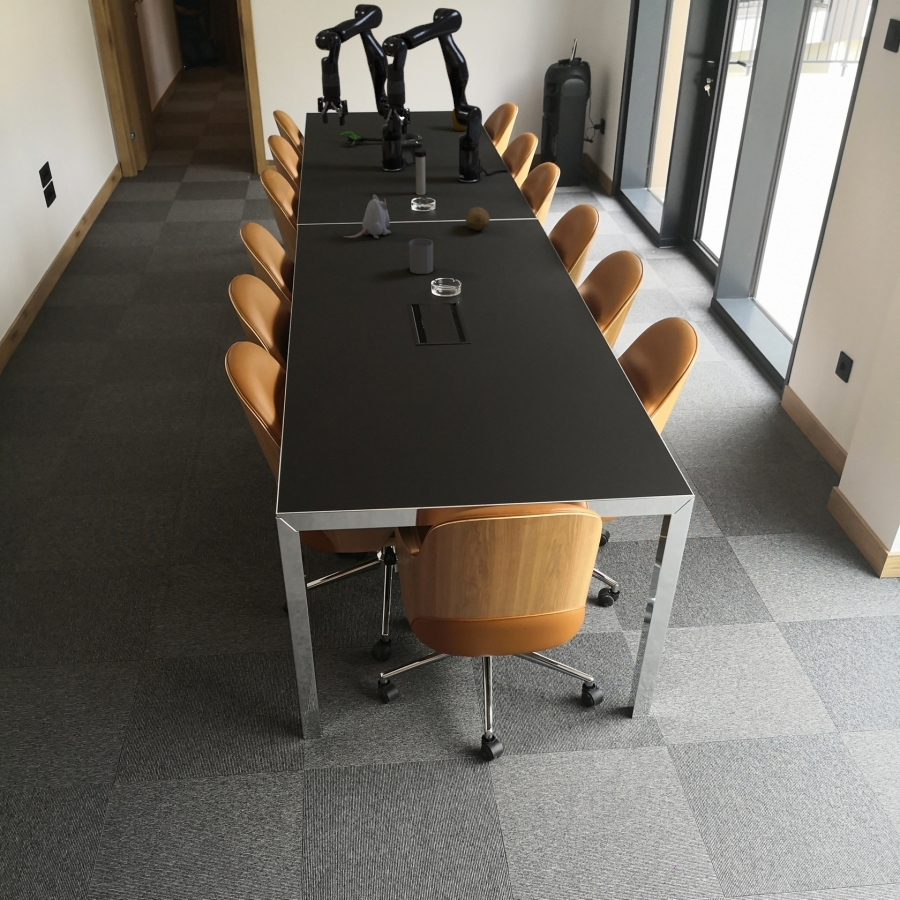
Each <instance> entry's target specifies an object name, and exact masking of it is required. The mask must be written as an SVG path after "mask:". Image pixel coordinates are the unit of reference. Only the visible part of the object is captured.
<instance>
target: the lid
mask: <svg viewBox="0 0 900 900" xmlns="http://www.w3.org/2000/svg"><path fill="white" fill-rule="evenodd" d="M413 154H414V157H415V156H416V157H424V156H425V157H426V156H427V150H426V149H415V150H414V153H413Z"/></svg>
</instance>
